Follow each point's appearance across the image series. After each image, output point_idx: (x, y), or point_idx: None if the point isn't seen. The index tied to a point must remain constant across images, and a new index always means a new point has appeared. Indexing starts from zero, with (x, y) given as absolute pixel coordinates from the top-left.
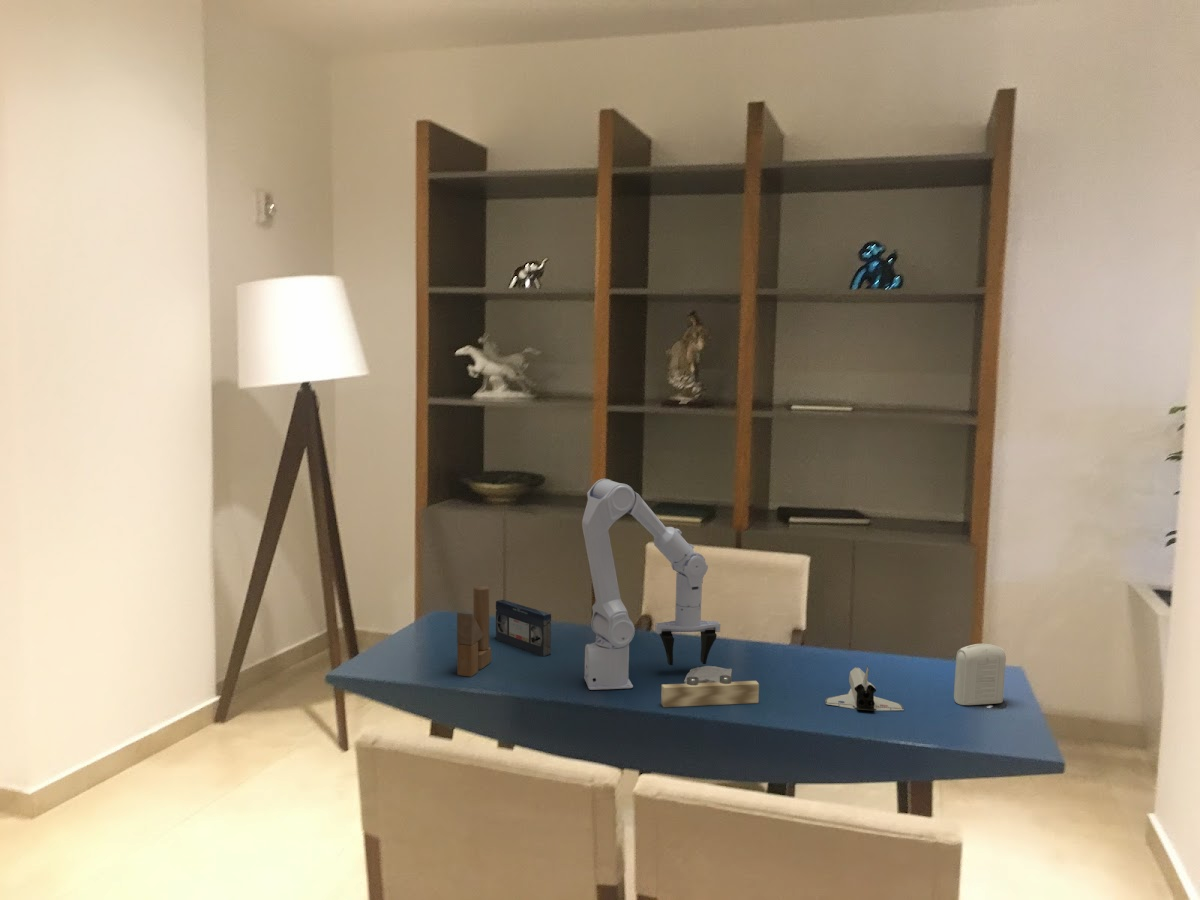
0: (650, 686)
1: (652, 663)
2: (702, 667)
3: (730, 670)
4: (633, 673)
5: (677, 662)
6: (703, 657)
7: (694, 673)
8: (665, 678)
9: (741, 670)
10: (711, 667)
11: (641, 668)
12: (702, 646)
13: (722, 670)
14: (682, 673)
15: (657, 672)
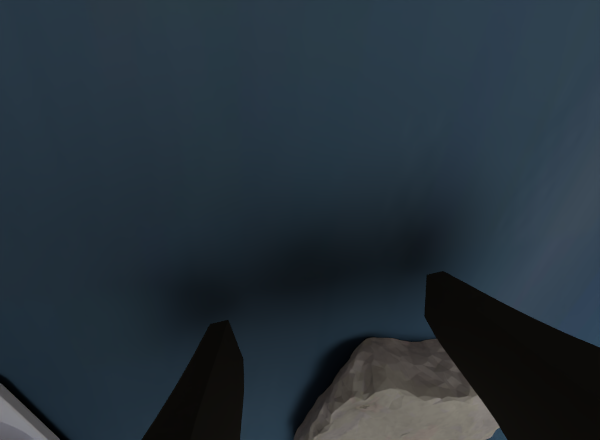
0: None
1: (88, 136)
2: (398, 416)
3: None
4: (21, 327)
5: (281, 98)
6: (451, 350)
7: (346, 431)
8: None
9: (597, 216)
10: (440, 423)
11: (38, 247)
12: (515, 376)
13: (474, 434)
14: (298, 291)
15: (161, 295)
